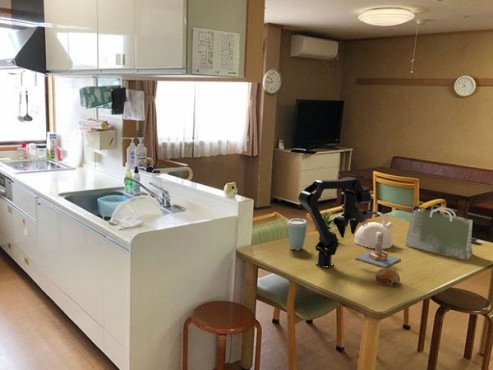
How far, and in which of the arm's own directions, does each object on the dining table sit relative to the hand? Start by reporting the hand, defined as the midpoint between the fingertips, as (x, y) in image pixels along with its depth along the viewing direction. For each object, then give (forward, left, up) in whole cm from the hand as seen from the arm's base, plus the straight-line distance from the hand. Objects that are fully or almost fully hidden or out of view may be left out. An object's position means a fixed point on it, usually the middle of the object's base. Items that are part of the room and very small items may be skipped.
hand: (347, 235), depth 211 cm
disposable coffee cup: (-3, +28, -13) cm, 31 cm away
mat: (+15, -9, -13) cm, 22 cm away
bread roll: (-8, -26, -13) cm, 30 cm away
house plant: (+23, +29, -13) cm, 39 cm away
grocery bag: (+56, -23, -13) cm, 62 cm away
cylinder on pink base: (+15, -9, -12) cm, 21 cm away
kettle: (+38, +6, -13) cm, 41 cm away
